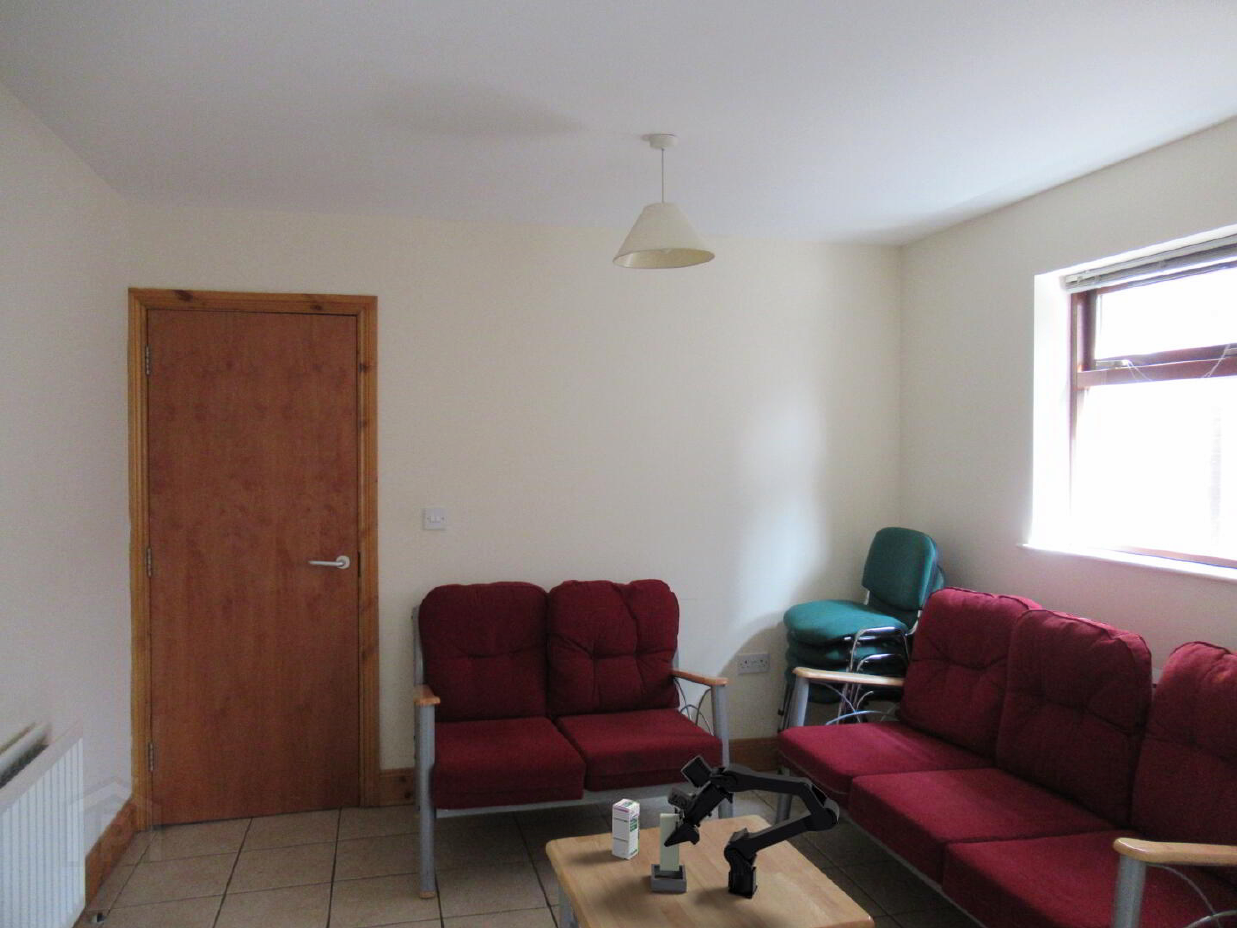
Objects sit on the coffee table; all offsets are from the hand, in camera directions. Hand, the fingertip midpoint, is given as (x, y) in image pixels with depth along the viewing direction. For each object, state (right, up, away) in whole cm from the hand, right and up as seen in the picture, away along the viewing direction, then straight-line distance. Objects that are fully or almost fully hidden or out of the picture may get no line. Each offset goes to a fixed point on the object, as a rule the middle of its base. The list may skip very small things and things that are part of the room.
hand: (664, 841), depth 238 cm
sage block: (+1, -7, 0) cm, 7 cm away
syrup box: (-10, -11, +17) cm, 23 cm away
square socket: (+1, -11, 0) cm, 11 cm away
